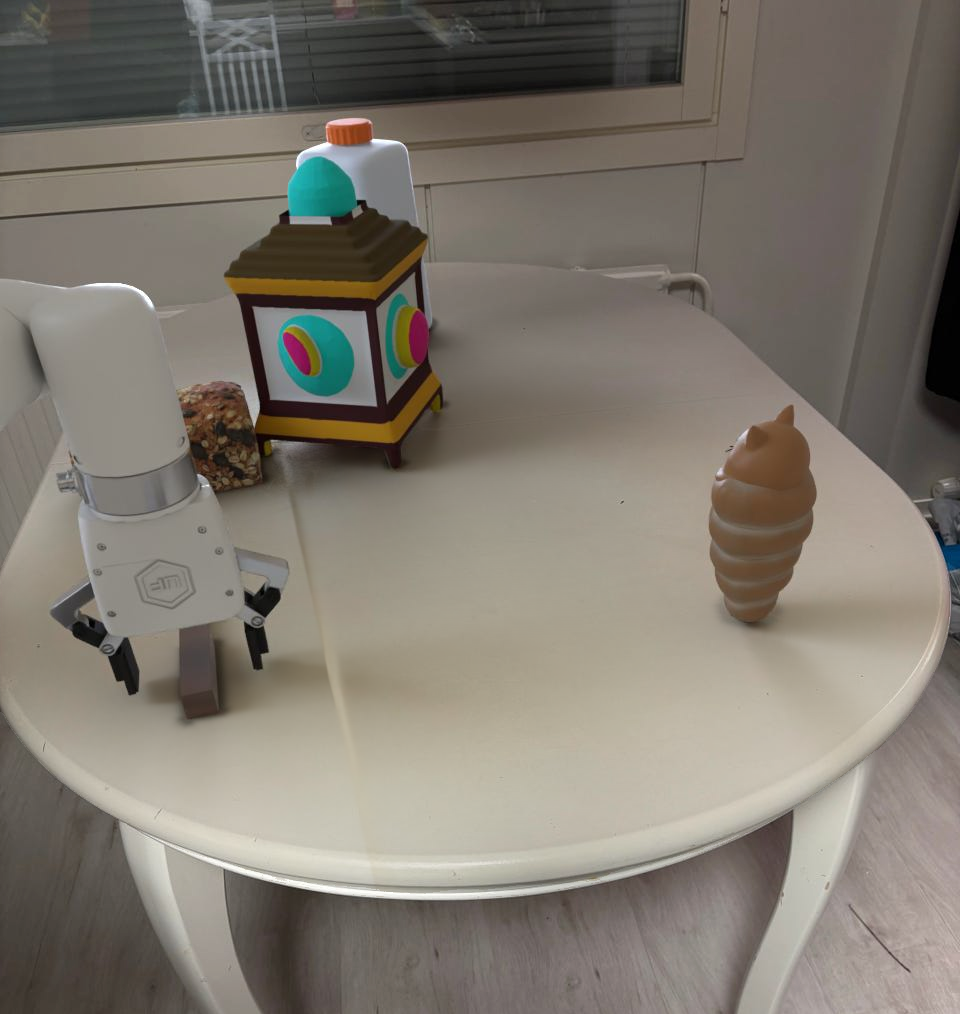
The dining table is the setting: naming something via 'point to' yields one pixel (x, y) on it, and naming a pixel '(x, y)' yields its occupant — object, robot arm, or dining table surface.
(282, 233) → the decorative lantern
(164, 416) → the robot arm
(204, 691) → the knife
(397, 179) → the plastic bottle
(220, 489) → the bread
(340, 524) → the dining table surface
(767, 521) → the cat ice cream
